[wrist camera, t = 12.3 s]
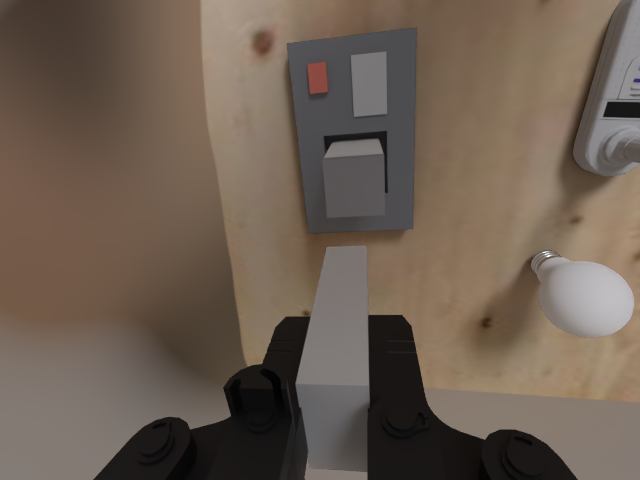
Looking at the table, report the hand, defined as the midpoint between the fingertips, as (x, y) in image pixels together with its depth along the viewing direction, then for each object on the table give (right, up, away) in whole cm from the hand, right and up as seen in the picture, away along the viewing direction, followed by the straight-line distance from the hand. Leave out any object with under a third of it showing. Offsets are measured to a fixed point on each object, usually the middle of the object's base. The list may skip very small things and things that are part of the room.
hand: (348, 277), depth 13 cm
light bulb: (+23, -1, +24) cm, 33 cm away
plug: (+3, +9, +21) cm, 24 cm away
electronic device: (+25, +15, +17) cm, 34 cm away
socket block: (+2, +11, +21) cm, 24 cm away
